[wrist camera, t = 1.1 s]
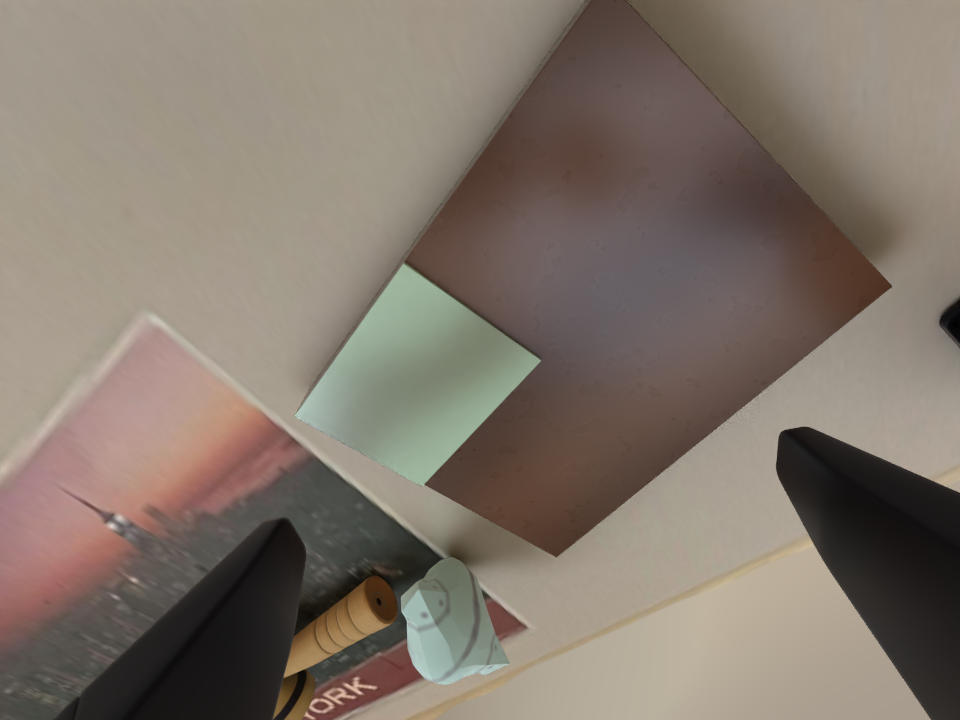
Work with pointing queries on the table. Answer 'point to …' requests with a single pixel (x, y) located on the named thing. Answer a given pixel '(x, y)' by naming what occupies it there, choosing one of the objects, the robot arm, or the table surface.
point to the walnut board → (590, 293)
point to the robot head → (450, 625)
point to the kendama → (332, 640)
